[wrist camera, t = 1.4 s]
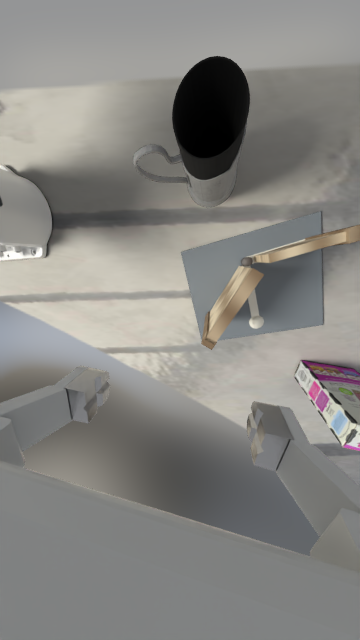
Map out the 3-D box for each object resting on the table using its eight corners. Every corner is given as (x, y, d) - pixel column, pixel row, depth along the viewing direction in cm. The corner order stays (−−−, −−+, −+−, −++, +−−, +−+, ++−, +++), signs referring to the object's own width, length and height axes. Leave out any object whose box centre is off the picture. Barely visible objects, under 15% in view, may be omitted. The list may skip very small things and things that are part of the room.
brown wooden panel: (237, 264, 34) (252, 267, 21) (245, 269, 34) (265, 275, 21) (205, 316, 39) (201, 343, 26) (212, 320, 39) (211, 349, 26)
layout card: (202, 342, 41) (202, 343, 41) (181, 252, 36) (180, 252, 35) (321, 324, 35) (323, 325, 35) (319, 211, 29) (321, 211, 29)
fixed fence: (241, 267, 34) (253, 270, 24) (240, 258, 34) (251, 257, 24) (314, 246, 31) (363, 239, 21) (313, 235, 30) (363, 223, 20)
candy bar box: (292, 377, 40) (340, 448, 25) (299, 359, 39) (356, 423, 23) (345, 386, 39) (431, 469, 24) (355, 368, 37) (454, 444, 22)
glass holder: (239, 198, 31) (261, 148, 17) (165, 221, 34) (133, 195, 20) (233, 138, 28) (252, 22, 14) (154, 170, 32) (108, 100, 18)
